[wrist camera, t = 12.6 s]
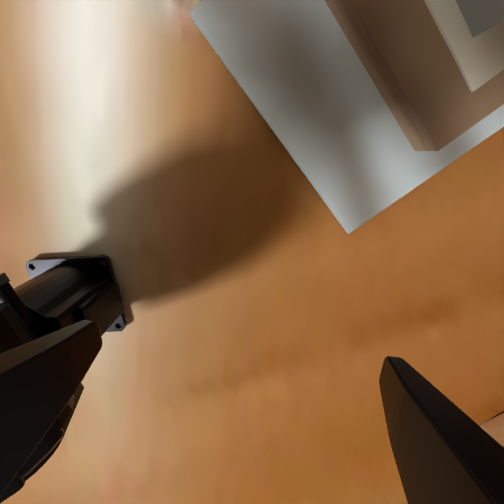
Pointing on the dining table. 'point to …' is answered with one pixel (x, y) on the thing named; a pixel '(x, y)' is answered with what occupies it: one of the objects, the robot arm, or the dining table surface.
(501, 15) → the post
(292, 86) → the plinth
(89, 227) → the dining table surface
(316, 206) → the dining table surface
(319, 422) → the dining table surface
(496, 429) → the small box
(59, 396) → the robot arm
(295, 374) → the dining table surface
